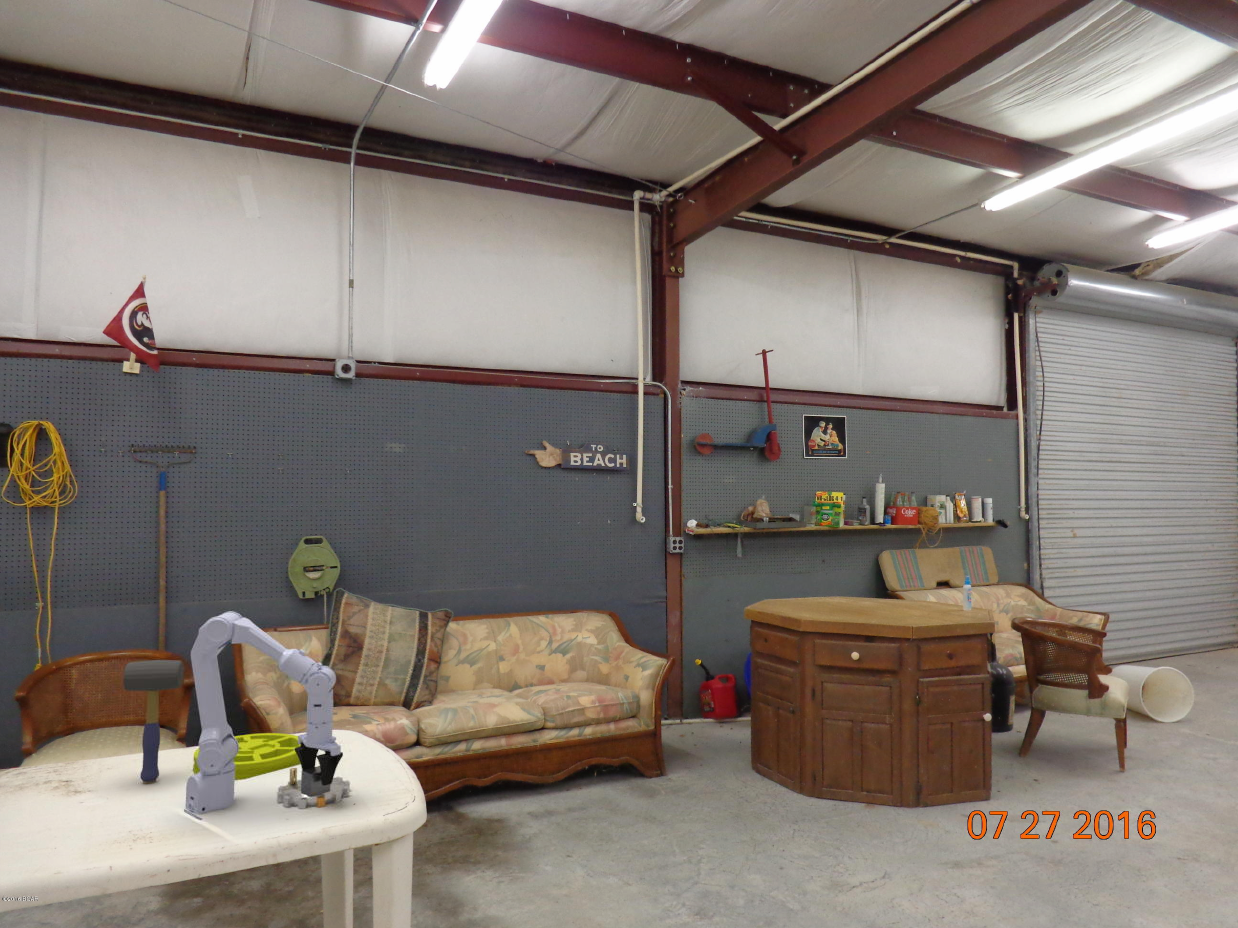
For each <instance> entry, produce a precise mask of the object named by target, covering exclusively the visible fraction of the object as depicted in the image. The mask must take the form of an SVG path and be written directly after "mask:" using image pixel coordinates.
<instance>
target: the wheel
mask: <svg viewBox="0 0 1238 928" xmlns="http://www.w3.org/2000/svg"><path fill="white" fill-rule="evenodd" d="M297 778H298V768H296V767H290V769H289V780H288V781H287V784H286V785H280V786H279V787H278V788H277V792H276V803H277V804H281V803H282V806H283V807H285V808H290V807H297V808H298V809H299V810H300V809H301V810H302V809H303V810H306V809H307V808H310V807H317V808H323V807H326V805H329V804H331V803H333V804H338V803H340V802H342V799H343V798H348V797H349V795H350V789H351V786H350V785H351V782H350V781H349V780H343V779H344V777H341V776H336V777H333V781H332V784H330V791H328V792H325V793H322V794H318V795H315V796H312V797H310V796H307V795H305V794H303V793H301V779H299V780H298V779H297Z"/></svg>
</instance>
